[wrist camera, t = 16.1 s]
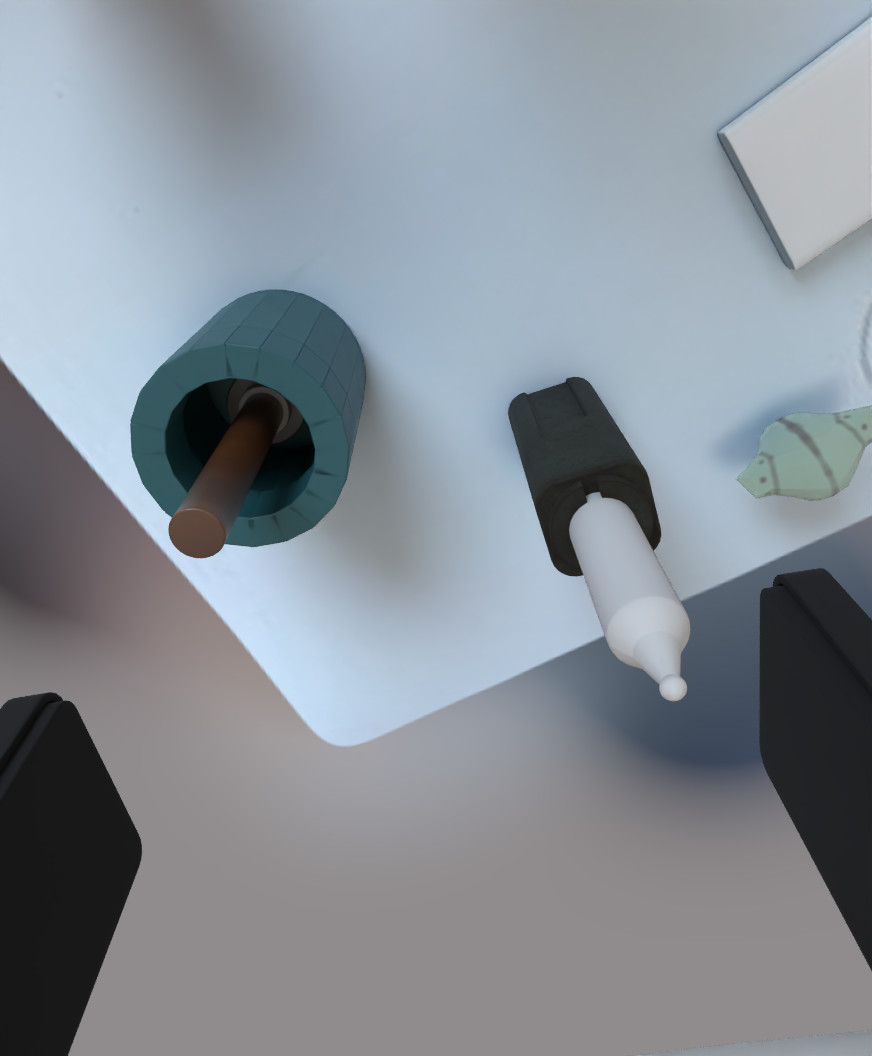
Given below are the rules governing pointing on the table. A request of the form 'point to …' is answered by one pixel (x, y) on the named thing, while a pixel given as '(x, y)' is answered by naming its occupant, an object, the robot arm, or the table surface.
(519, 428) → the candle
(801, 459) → the green toy fish
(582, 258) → the table surface
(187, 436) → the teal hollow cylinder
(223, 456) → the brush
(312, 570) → the table surface
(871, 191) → the hard drive
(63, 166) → the table surface
